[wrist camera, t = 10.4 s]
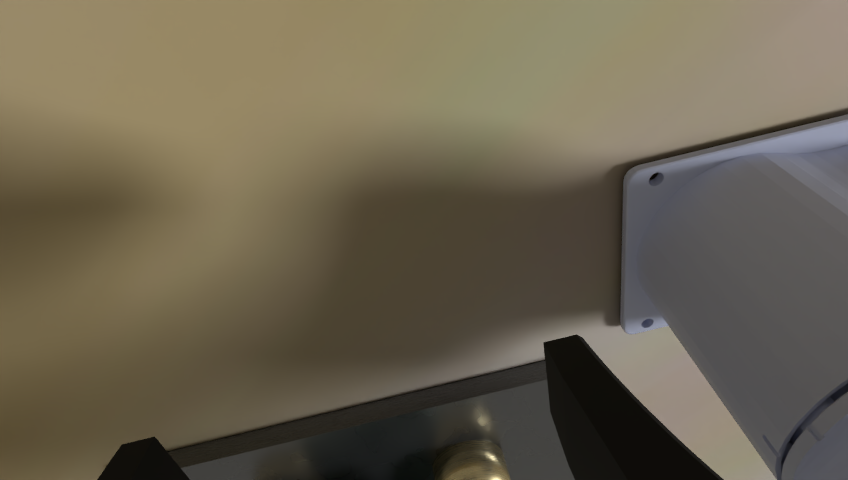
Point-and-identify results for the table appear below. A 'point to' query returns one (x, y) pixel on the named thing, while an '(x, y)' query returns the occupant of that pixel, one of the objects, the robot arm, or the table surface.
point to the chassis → (404, 438)
